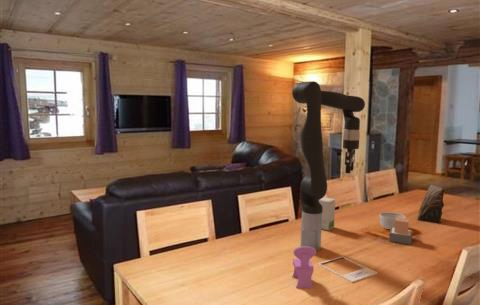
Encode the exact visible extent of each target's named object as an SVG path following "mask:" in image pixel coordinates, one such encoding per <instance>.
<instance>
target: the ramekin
mask: <svg viewBox="0 0 480 305" xmlns="http://www.w3.org/2000/svg"><path fill="white" fill-rule="evenodd" d="M396 217H399V218H406V219H407V217H406V216H405V215H404V214H402V213H401V214H400V213H398V212H392V211H391V212H390V211H388V212H387V211H385V212H381V213H379V225H380V227H381V226H382V227H384V228H389V229H391V227H392V228H395V219H396ZM382 227H381V228H382ZM384 228H383V229H384Z"/></svg>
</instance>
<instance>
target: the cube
mask: <svg viewBox="0 0 480 305" xmlns="http://www.w3.org/2000/svg"><path fill="white" fill-rule="evenodd" d="M409 226H410V218H407V217H406V218H399V217H396V219H395V229H394V232H395V233H402V234H408V230H409Z"/></svg>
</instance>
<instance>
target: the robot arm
mask: <svg viewBox="0 0 480 305" xmlns="http://www.w3.org/2000/svg"><path fill="white" fill-rule="evenodd" d="M291 94H292V98H293V100H294V101H295V102H297V103H298V104H302V105H303V104H306V118H305V121H304V122H303V123H304V124H303V126H302V128H301V132H300V145H301V152H302V154H303V156H304V158H305V160H306V162H307V164H308V167H309V171H310V175H306V176H304V177H303V178H302V180H301V183H300V188H299V190H300V191H299V192H300V193H299V194H300V198H299V199H300V200H299V201H300V206H301V220H300V221H301V223H300V226H301V227H300V246H299V247H302V246H309V247H312V248H314V249H315V250H316V252H317V251H321V249H322V248H321V246H322V230H323V229H322V211H323V207H322V205H321V204H320V203H319V200H320V199H323V198H325V196H326V195H327V192H328V181H327V176H326V175H327V174H326V169H325V161H324V151H323V150H324V148H323V143H324V142H323V134H322V106H326V107H329V108H334V109H338V110H342V113H343V114H342V115H343V119H344V128H343V136H342V140H343V141H342V148H343V149H346V150H347V151H345V153H344V154H345V155H344V165H345V170H344V171H345V174H351V171H352V172H353V171H354V164H355V161H356V150H359V148H360V139H361V138H360V135H361V133H360V132H361V131H360V127H361V126H360V124H361V119H360V118H359V117H357V116H356V115H355V114H354V113H360V112H362V111H363V110H364V108H366V101H365V100H364V98H362V97H360V96H355V95H348V94H345V93H340V92H337V91H328V90H322V89H321V86H320V84H319V83H318V82H317V81H313V80H311V81H300V82H298V83H296V84H295V85H293V88H292V93H291Z"/></svg>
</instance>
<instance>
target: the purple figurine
mask: <svg viewBox="0 0 480 305" xmlns="http://www.w3.org/2000/svg"><path fill="white" fill-rule="evenodd" d="M292 253H293V255H294V256H295V257H296V258H293V259H292V266H294V269H293V274H292V276H291V277H292V278H293V277H296V278H295V279H297V277H298V279H297V284H296V286H295V288H296V289H314V286H313V282H312V276H313V273H314V265H313V264H312V261H311V259H312V258H314V257H315V256H316V255H317V251H316V250H315V249H314V248H312V247H309V246H302V247H300V246H298V247H296V248H295V249H293V252H292ZM293 279H294V278H293Z"/></svg>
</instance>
